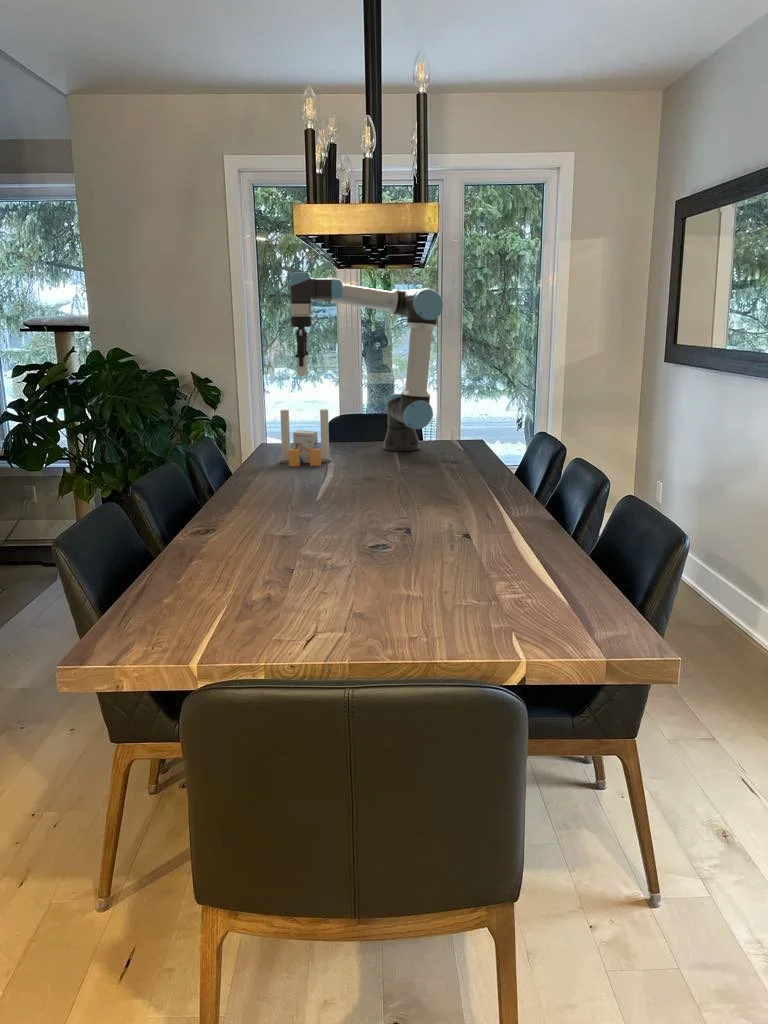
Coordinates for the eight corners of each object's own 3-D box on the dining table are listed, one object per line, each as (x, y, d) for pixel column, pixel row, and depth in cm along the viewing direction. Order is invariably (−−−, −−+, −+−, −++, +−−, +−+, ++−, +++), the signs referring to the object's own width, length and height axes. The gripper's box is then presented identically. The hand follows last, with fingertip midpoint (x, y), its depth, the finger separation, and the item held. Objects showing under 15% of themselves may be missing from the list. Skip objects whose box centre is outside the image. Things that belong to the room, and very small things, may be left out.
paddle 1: (300, 464, 291) (299, 448, 289) (299, 465, 288) (299, 450, 286) (289, 464, 291) (288, 449, 289) (288, 466, 288) (288, 450, 286)
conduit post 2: (331, 460, 299) (330, 408, 294) (331, 462, 295) (329, 410, 289) (319, 460, 299) (318, 409, 294) (319, 462, 294) (318, 410, 289)
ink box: (293, 462, 295) (292, 431, 292) (298, 459, 300) (297, 429, 297) (313, 463, 293) (313, 432, 290) (318, 461, 297) (317, 430, 294)
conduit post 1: (292, 460, 298) (290, 409, 293) (291, 462, 294) (290, 410, 289) (281, 460, 298) (279, 409, 293) (280, 463, 294) (278, 410, 289)
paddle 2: (321, 464, 291) (320, 448, 290) (320, 465, 288) (320, 449, 287) (310, 464, 291) (310, 448, 289) (310, 465, 288) (309, 450, 287)
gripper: (293, 315, 294) (294, 371, 300) (288, 316, 270) (290, 376, 275) (312, 315, 295) (314, 371, 300) (309, 316, 270) (311, 376, 276)
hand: (302, 374), depth 288 cm, fingers open, 13 cm apart
